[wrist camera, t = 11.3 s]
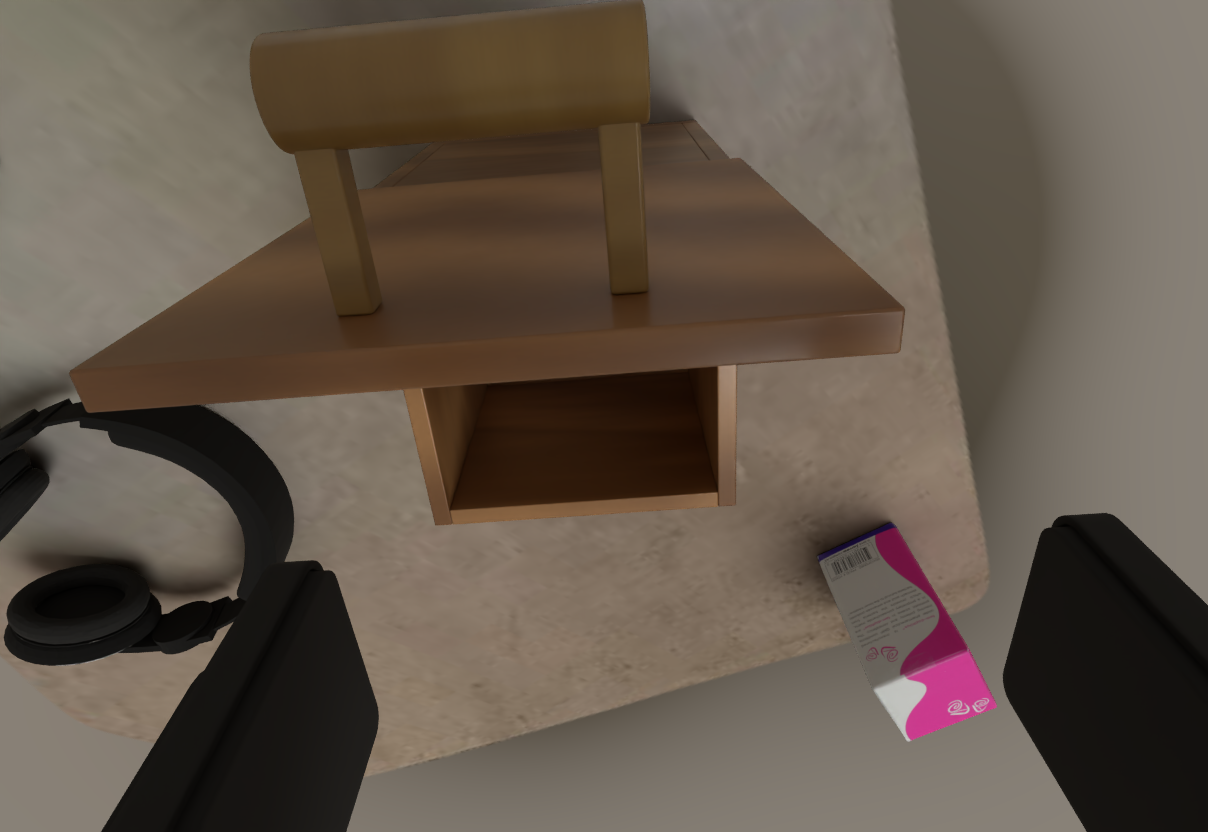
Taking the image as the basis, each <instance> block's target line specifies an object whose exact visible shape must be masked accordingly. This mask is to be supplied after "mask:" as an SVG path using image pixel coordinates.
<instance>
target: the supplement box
mask: <svg viewBox="0 0 1208 832" xmlns="http://www.w3.org/2000/svg"><path fill="white" fill-rule="evenodd" d="M817 558H818V561H819V564H820V566H821V569H822V571H823V574H824V576H825V578H826V581H827V583H828V586H829V588H830V591H831V593H832V595H833V598H834V600H835V602H836V605H837V607H838V609H839V612H840V614H841V616H842V619H843V621H844V624H845V626H846V628H847V631H848V633H849V635H850V638H851V640H852V643H853V645H854V647H855V649H856V652H857V654H858V657H859V659H860V662H861V664H862V666H863V668H864V671H865V674H866V676H867V678H868V681H869V683H870V685H871V688H872V690H873V691H874V693H875V694H876V696H877V697H878V699H879V700H880V702H881V703H882V705H883V706H884V708H885V709H886V711H887V712H888V713H889V715H890V716H891V718H892V719H893V721H894V722H895V724H896V725H897V727H898V728H899V730H900V731H901V732H902V734H903V735H904V737H905V739H906V740H907V741H911V740H913V739H915V738H918V737H921V736H923V735H926V734H928V733H931V732H934V731H936V730H938V729H941V728H944V727H946V726H949V725H952V724H954V723H957V722H960V721H962V720H965V719H967V718H970V717H973V716H975V715H978V714H980V713H983V712H986V711H988V710H991V709H994V708H996V707H997V705H996V702H995V700H994V698H993V696H992V694H991V692H990V690H989V688H988V686H987V684H986V682H985V680H984V678H983V676H982V674H981V672H980V670H979V668H978V666H977V664H976V662H975V660H974V658H973V656H972V654H971V652H970V650H969V648H968V646H967V644H966V643H965V641H964V639H963V638H962V636H961V635H960V633H959V631H958V630H957V628H956V626H955V625H954V623H953V621H952V620H951V618H950V616H949V615H948V613H947V611H946V609H945V608H944V606H943V604H942V603H941V601H940V599H939V598H938V596H937V594H936V593H935V591H934V589H933V588H932V586H931V584H930V583H929V581H928V579H927V578H926V576H925V574H924V573H923V571H922V569H921V568H920V566H919V564H918V563H917V561H916V559H915V558H914V556H913V554H912V553H911V551H910V549H909V548H908V546H907V544H906V542H905V541H904V539H903V537H902V536H901V534H900V532H899V531H898V529H897V527H896V526H895V525H894V524H893V523H889V524H886V525H884V526H882V527H880V528H878V529H876V530H873V531H871V532H869V533H867V534H865V535H862V536H860V537H858V538H856V539H854V540H852V541H849V542H847V543H845V544H843V545H841V546H838V547H836V548H834V549H832V550H830V551H827V552H825V553H823V554H821V555H818V556H817Z"/></svg>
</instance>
